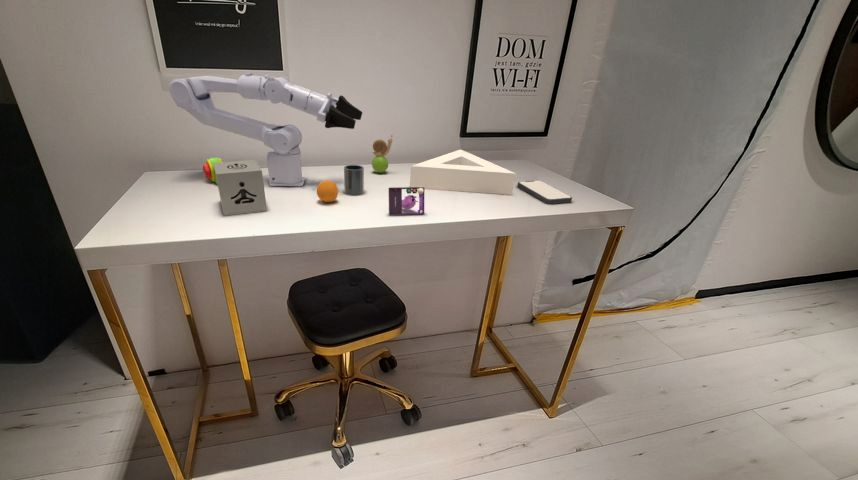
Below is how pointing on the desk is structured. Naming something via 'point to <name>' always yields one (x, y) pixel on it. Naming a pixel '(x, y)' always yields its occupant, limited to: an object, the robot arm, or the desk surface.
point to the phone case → (544, 192)
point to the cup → (354, 179)
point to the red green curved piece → (211, 169)
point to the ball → (327, 191)
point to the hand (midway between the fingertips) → (358, 120)
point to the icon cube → (240, 187)
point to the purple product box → (405, 200)
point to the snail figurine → (381, 155)
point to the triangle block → (462, 174)
